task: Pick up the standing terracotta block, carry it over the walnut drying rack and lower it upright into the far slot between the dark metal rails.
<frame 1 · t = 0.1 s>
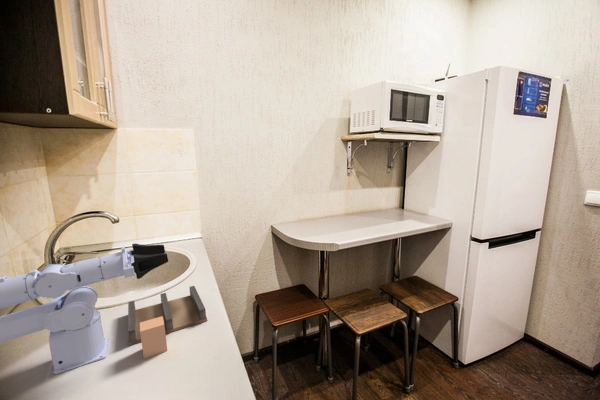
hand: (166, 252, 72), 21 cm above the counter, tool horizontal, fingers open, 7 cm apart
rack: (167, 317, 81), on the counter
block: (155, 349, 68), on the counter
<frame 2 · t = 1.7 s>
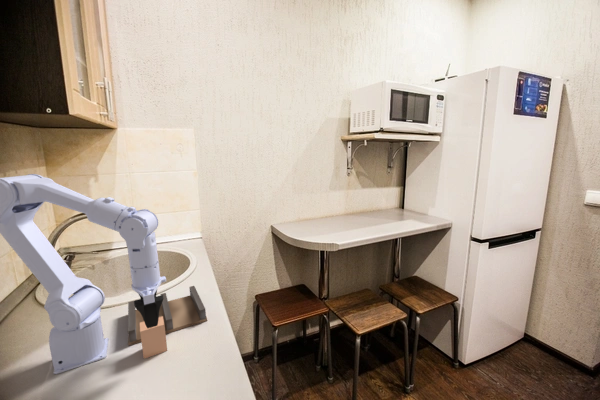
hand: (151, 317, 66), 8 cm above the counter, tool pointing down, fingers open, 7 cm apart
nothing on the counter moved.
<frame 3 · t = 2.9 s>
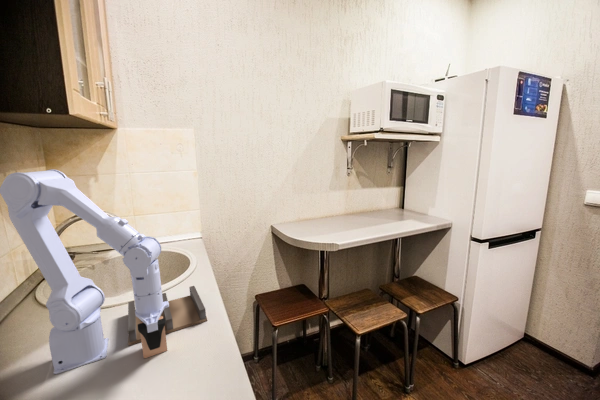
hand: (154, 342, 67), 2 cm above the counter, tool pointing down, fingers closed on block, 4 cm apart
block: (155, 349, 68), on the counter, touching gripper
when the fingers open (4 cm above the counter, at t = 6.8 s): block stays where it is, resting on rack.
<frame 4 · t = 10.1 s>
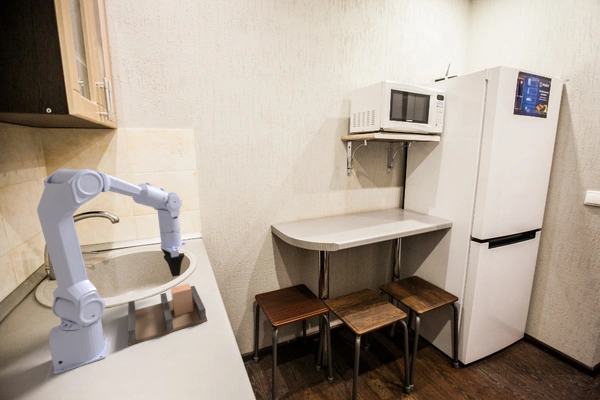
hand: (174, 271, 89), 9 cm above the counter, tool pointing down, fingers open, 7 cm apart
block: (183, 310, 83), point 1 cm above the counter, touching rack
at the end: block inside the target area on the rack (0.2 cm from its centre), point 0.8 cm above the rack's base; block tilted 0°; the gripper is holding nothing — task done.
